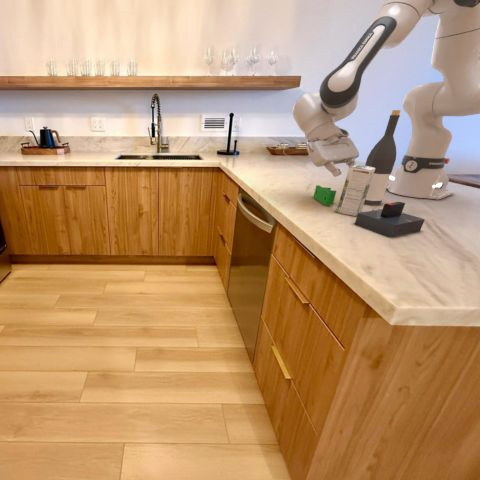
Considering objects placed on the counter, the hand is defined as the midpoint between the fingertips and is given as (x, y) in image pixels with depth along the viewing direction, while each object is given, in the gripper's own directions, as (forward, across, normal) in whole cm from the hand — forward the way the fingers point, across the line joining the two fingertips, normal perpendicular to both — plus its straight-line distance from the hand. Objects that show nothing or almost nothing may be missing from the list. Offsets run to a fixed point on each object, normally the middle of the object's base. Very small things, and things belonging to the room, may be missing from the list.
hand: (346, 173), depth 90 cm
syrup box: (+11, 0, +6) cm, 13 cm away
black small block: (+17, -4, -6) cm, 19 cm away
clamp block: (+20, -4, -3) cm, 20 cm away
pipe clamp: (+3, +5, +14) cm, 15 cm away
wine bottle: (+9, +18, +8) cm, 22 cm away
